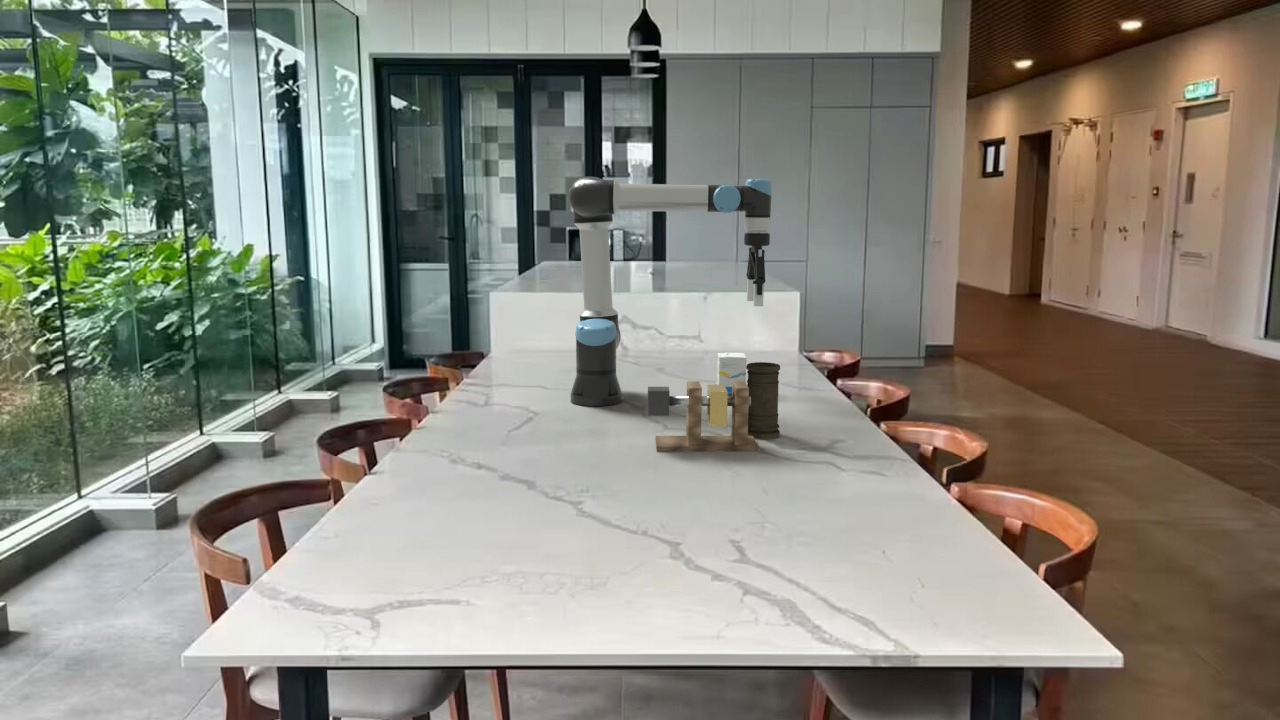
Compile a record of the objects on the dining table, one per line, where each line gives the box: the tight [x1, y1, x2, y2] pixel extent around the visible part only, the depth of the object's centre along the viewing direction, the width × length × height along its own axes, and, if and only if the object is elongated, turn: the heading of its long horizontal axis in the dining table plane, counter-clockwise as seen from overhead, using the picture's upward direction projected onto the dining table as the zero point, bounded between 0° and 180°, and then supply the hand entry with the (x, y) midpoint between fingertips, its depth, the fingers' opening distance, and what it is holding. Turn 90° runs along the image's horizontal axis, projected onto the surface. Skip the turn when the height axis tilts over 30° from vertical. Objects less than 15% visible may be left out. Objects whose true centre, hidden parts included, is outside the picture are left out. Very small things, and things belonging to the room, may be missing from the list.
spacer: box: [706, 384, 729, 428], centre depth 220 cm, size 4×8×8 cm, turn 1°
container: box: [746, 361, 781, 440], centre depth 231 cm, size 9×9×18 cm
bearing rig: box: [654, 380, 760, 452], centre depth 221 cm, size 24×10×15 cm, turn 91°
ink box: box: [716, 352, 747, 396], centre depth 283 cm, size 9×8×12 cm
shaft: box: [647, 386, 751, 417], centre depth 220 cm, size 24×5×6 cm, turn 91°
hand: (754, 303), depth 277 cm, fingers open, 13 cm apart
